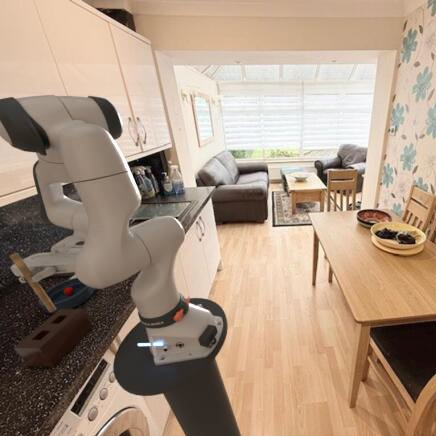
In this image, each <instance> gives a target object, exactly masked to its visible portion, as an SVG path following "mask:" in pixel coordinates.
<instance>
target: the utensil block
mask: <svg viewBox="0 0 436 436" xmlns="http://www.w3.org/2000/svg"><path fill="white" fill-rule="evenodd" d="M93 328H94V326H93V324H92V322H91V321H90V319H89V317H88V315H87V314H86V312H85V311H84V310H83V308H82V309H80V308H79V309H77V308H76V309H75V308H73V309H60V310H59V311H57V312H56V313H55V314H52V315H51V316H50V317H49V318H47V319H46V320H45V321H44V322H43V323H41V324H40V325H39V326H38V327H37V328H35V329H34V330H33V331H32V332H31V333H30V334H28V335H27V336H26V337H24V338H23V339H22V340H21V341H20V342H18V343H17V344H16V345H15V346H14V347H13V349H14V351H15V352H17V354H18V355H19V356H20V357H21V359H23V361H24V362H25V363H26V364H27V365H28V366H29V367H41V368H42V367H47V368H50V367H51V368H55V367H56V366H57V365H58V364H59V363H60V362H61V361H62V360H63V359H64V358H65V357H66V356H67V355H68V353H69V352H71V350H72V349H73V348H74V347H76V345H77V344H78V343H79V342H80V341H81V340H82V339H83V338H84V337H85V336H86V335H87V334H88V333H89V332H90V331H91V330H92V329H93Z"/></svg>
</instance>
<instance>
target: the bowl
mask: <svg viewBox="0 0 436 436" xmlns="http://www.w3.org/2000/svg"><path fill="white" fill-rule="evenodd" d="M68 287H72V288H73V289H74V292H73V293H72V294H71V295H65V294H64V290H65V289H66V288H68ZM95 290H96V288H92V287H89V286H86V285H85V284H83V283H82V282H81V281H80V280H79V279H78V278H73V279H70V280H66V279H65V280H64V281H62V282H60V283H57V284H55V285H53V286H52V287H50V288H49V289H47V290H46V291H45V293H46V294H47V295H48V297H49V298H50V300H51V301H52V303H53V304H54V306H55V307H56V310H55V311H53V312H49V310H48V309H47V308H46V306H45V305H44V304H43V302H42V301H41V299H40V298H39V297H38V298H39V299H38V304H39V306H40V307H41V309H42V311H44V313H47V314H52V315H54V314H55V313H56V312H57V311H59V310H60V309H75V308H77V307H79V306H81V305H82V304H84V303H85V302H86V301H88V300H89V299H90V298H91V296H92V295H93V293H94V292H95Z"/></svg>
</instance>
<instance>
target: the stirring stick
mask: <svg viewBox="0 0 436 436" xmlns="http://www.w3.org/2000/svg"><path fill="white" fill-rule="evenodd" d="M9 258H10V259H11V261H12V262H13V264H15V265H16V266H17V267H18V269H19V270H20V272H21V273H22V274H23V276H24V277H25V278H26V280H27V281H28V284H29V286H30V287H31V288H32V290H33V291H34V293H35V294H36V295H37V297H38V298H40V299H41V301H42V302H43V304H44V305H45V306H46V308H47V309H48V310H49V312H53V311H55V310H56V307H55V306H54V304H53V303H52V301H51V300H50V298H49V297H48V295H47V294H46V293H45V292H46V291H45V290H44V288H43V287H42V285H41V284H40V283H39V282H31V280H30V279H29V277H31V276H32V275H33V274H32V272H31V271H30V270H29V268H28V267H27V265H26V264H25V262H24V261H23V258H22V256H21V255H20V253H18V252H15V253H12V254H10V255H9Z"/></svg>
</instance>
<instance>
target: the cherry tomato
mask: <svg viewBox="0 0 436 436" xmlns="http://www.w3.org/2000/svg"><path fill="white" fill-rule="evenodd" d="M73 292H74V289H73V288H72V287H68V288H66V289H65V290H64V294H65V295H71V294H72V293H73Z"/></svg>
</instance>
